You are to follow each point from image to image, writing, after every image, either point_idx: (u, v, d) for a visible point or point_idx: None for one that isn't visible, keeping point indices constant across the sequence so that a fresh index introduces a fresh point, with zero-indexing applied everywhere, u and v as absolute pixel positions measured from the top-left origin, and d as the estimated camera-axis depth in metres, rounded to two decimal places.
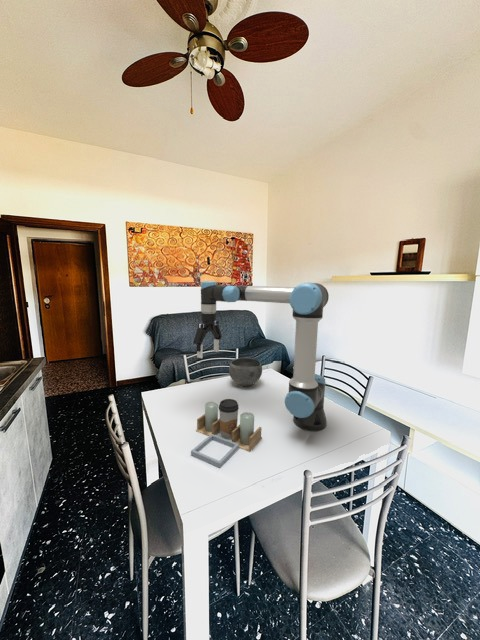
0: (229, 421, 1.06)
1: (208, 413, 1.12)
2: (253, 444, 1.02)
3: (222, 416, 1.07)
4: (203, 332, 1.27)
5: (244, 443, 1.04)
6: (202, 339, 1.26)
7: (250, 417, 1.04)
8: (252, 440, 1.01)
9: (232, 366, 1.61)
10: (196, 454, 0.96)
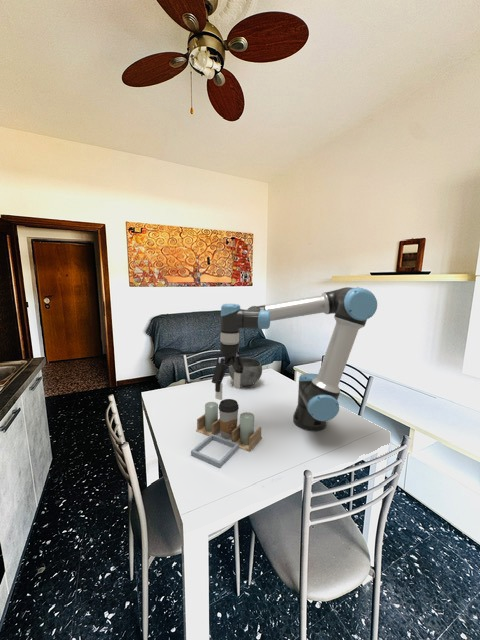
0: (229, 421, 1.06)
1: (208, 413, 1.12)
2: (253, 444, 1.02)
3: (222, 416, 1.07)
4: (223, 367, 1.03)
5: (244, 443, 1.04)
6: (222, 376, 1.01)
7: (250, 417, 1.04)
8: (252, 440, 1.01)
9: (232, 366, 1.61)
10: (196, 454, 0.96)
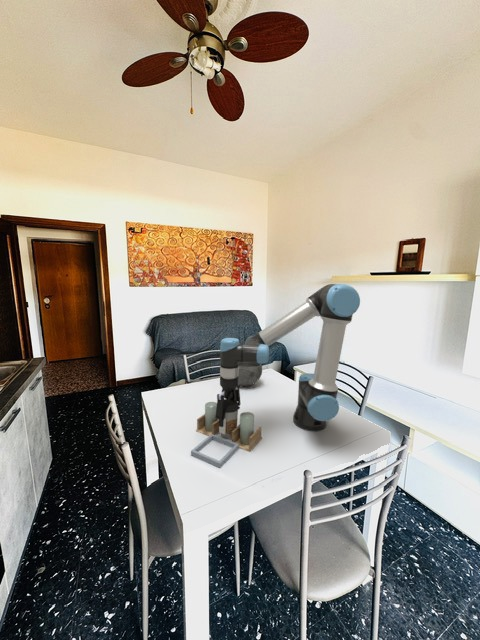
0: (229, 421, 1.06)
1: (208, 413, 1.12)
2: (253, 444, 1.02)
3: None
4: (224, 402, 1.06)
5: (244, 443, 1.04)
6: (225, 412, 1.05)
7: (250, 417, 1.04)
8: (252, 440, 1.01)
9: None
10: (196, 454, 0.96)
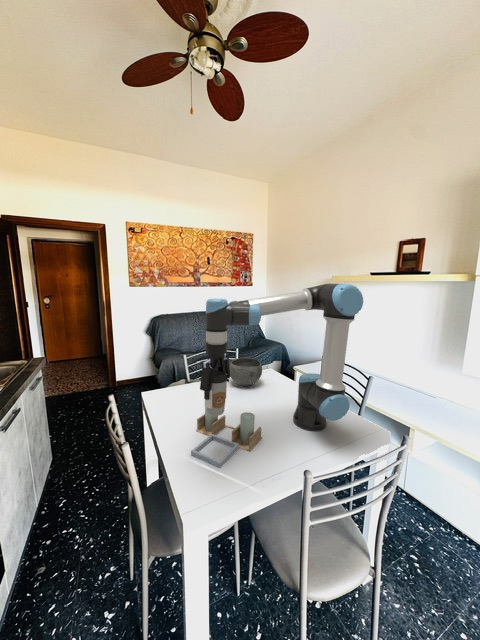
0: (216, 394, 0.93)
1: None
2: (253, 444, 1.02)
3: None
4: (211, 372, 0.92)
5: (244, 443, 1.04)
6: (211, 382, 0.91)
7: (250, 417, 1.03)
8: (252, 440, 1.01)
9: (232, 366, 1.61)
10: (196, 454, 0.96)
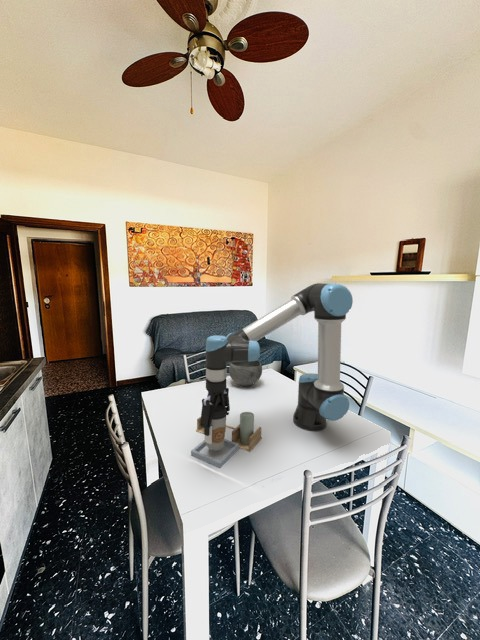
0: (215, 429, 0.95)
1: None
2: (253, 444, 1.02)
3: None
4: (210, 408, 0.94)
5: (243, 442, 1.04)
6: (211, 419, 0.93)
7: (249, 416, 1.04)
8: (252, 440, 1.01)
9: (232, 366, 1.61)
10: (196, 454, 0.96)
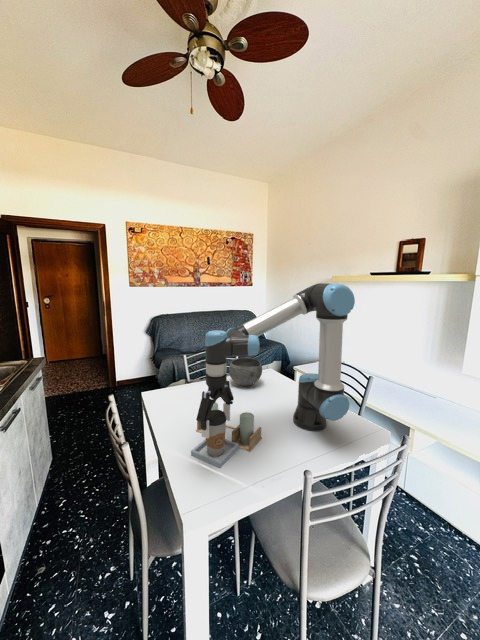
0: (215, 436, 0.95)
1: None
2: (253, 444, 1.02)
3: None
4: (209, 402, 0.93)
5: (243, 443, 1.04)
6: (208, 413, 0.91)
7: (249, 418, 1.03)
8: (252, 440, 1.01)
9: (232, 366, 1.61)
10: (196, 454, 0.96)
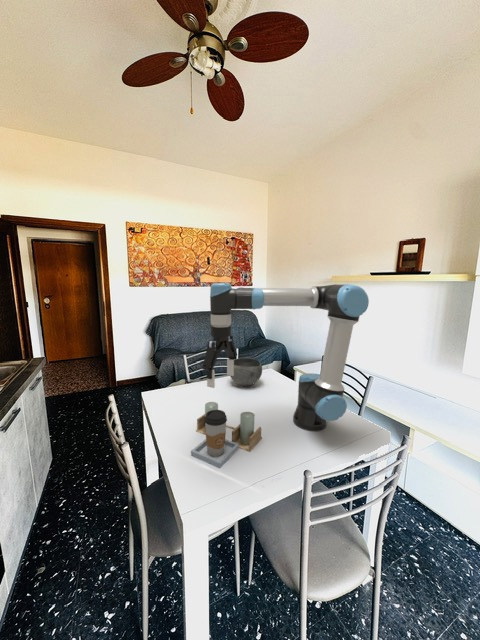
0: (216, 435, 0.95)
1: None
2: (253, 444, 1.02)
3: (208, 429, 0.96)
4: (215, 352, 0.94)
5: (243, 442, 1.04)
6: (214, 362, 0.93)
7: (249, 416, 1.04)
8: (252, 440, 1.01)
9: None
10: (196, 454, 0.96)
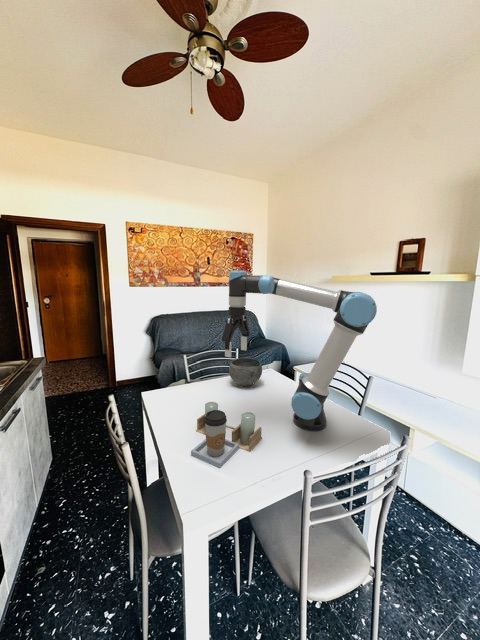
0: (215, 436, 0.95)
1: None
2: (253, 444, 1.02)
3: (208, 430, 0.95)
4: (232, 328, 1.13)
5: (242, 442, 1.04)
6: (231, 336, 1.11)
7: (250, 418, 1.03)
8: (252, 440, 1.01)
9: (232, 366, 1.61)
10: (196, 454, 0.96)
